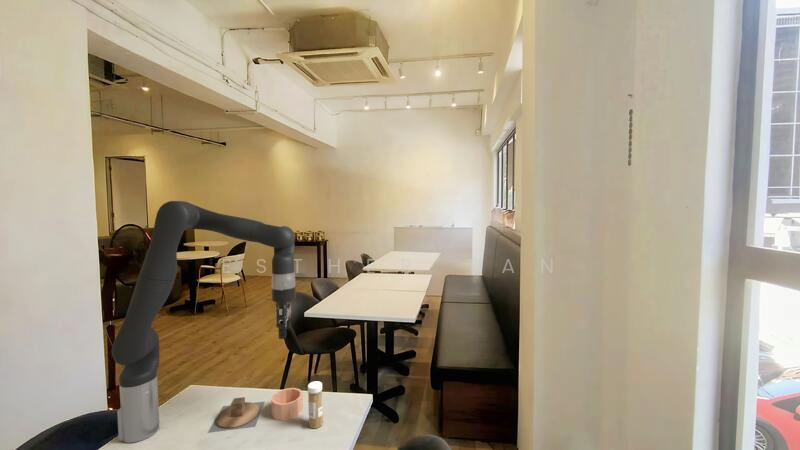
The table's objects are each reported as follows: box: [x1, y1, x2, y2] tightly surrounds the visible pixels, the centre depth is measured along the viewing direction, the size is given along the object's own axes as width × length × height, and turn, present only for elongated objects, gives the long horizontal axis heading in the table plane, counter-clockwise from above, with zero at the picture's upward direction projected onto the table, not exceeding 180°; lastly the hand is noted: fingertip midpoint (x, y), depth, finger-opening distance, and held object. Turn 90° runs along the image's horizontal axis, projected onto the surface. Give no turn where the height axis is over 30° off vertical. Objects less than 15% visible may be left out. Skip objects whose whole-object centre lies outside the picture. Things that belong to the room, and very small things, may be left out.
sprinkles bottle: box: [307, 380, 324, 429], centre depth 106 cm, size 5×5×13 cm
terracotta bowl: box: [270, 387, 304, 421], centre depth 113 cm, size 10×10×6 cm
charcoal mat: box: [207, 401, 266, 434], centre depth 110 cm, size 14×14×1 cm
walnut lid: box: [215, 396, 259, 429], centre depth 110 cm, size 13×13×5 cm
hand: (284, 333), depth 110 cm, fingers open, 8 cm apart
